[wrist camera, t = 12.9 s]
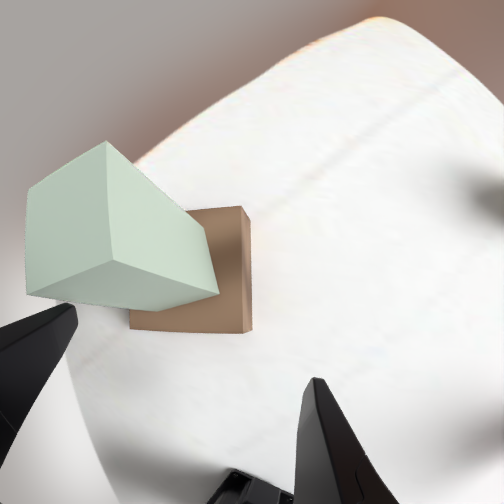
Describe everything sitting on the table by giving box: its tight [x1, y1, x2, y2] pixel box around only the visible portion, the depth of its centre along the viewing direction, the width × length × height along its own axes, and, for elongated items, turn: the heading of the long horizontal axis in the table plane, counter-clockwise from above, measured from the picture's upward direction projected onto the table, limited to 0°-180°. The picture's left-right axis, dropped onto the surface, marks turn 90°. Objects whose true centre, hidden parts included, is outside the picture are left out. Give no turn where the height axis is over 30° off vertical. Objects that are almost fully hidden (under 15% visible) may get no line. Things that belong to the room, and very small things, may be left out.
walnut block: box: [130, 206, 252, 334], centre depth 23 cm, size 9×9×4 cm
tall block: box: [25, 141, 220, 312], centre depth 16 cm, size 5×5×12 cm
